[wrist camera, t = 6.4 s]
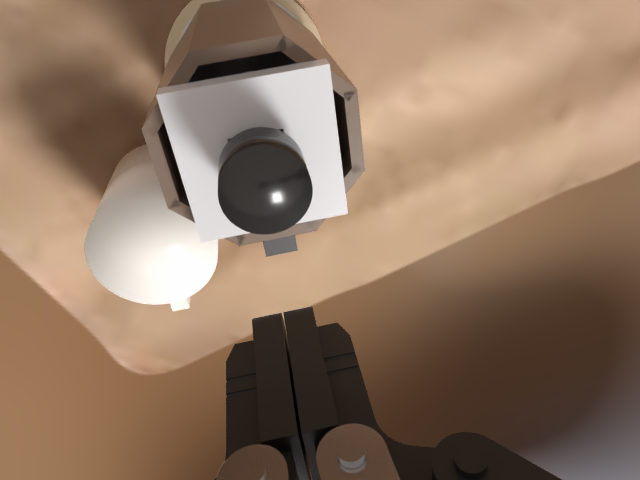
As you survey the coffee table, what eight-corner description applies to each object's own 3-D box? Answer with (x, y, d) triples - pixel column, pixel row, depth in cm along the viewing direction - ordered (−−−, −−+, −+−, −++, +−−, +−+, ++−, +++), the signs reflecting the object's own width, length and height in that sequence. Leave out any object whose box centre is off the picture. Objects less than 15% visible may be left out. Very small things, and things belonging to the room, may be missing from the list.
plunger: (269, 44, 34) (305, 140, 19) (279, 99, 35) (318, 224, 21) (214, 54, 33) (207, 159, 19) (227, 108, 35) (229, 242, 21)
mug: (204, 132, 38) (199, 185, 31) (234, 245, 44) (236, 313, 36) (95, 153, 38) (63, 211, 30) (139, 264, 43) (121, 337, 36)
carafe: (312, -32, 34) (374, 1, 20) (335, 149, 41) (393, 267, 27) (143, -4, 33) (85, 51, 19) (195, 176, 40) (180, 311, 26)
